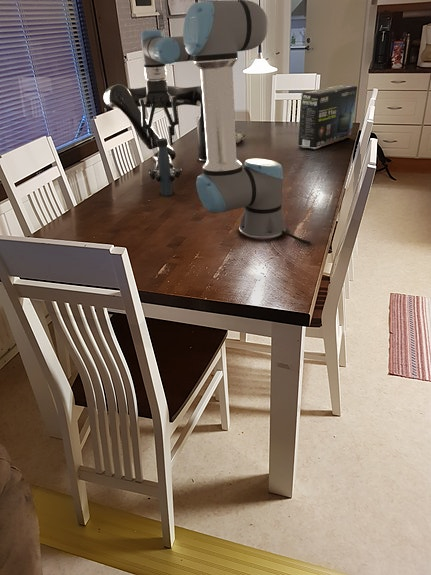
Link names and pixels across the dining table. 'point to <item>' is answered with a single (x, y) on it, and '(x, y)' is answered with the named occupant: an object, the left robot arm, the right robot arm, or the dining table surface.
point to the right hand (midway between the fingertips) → (162, 145)
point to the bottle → (164, 172)
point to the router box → (326, 115)
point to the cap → (161, 142)
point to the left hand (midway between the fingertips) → (165, 179)
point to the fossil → (239, 136)
